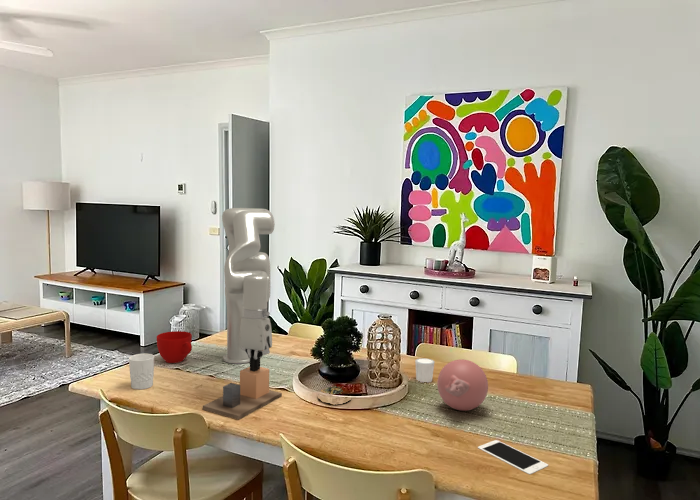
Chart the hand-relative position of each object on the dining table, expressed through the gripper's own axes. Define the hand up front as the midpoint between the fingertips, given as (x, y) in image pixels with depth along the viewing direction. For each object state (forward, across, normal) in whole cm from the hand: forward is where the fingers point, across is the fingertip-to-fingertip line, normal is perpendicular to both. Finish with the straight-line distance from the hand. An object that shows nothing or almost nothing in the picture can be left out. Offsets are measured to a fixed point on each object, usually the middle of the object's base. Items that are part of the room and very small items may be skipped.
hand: (254, 369), depth 166 cm
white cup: (+9, +38, +12) cm, 41 cm away
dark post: (+9, 0, +11) cm, 14 cm away
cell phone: (+10, -80, -3) cm, 81 cm away
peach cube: (+8, 0, 0) cm, 8 cm away
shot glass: (+9, -41, -45) cm, 62 cm away
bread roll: (+10, -22, -12) cm, 27 cm away
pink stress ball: (+9, -60, -24) cm, 65 cm away
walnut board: (+9, 0, +5) cm, 10 cm away
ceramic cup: (+9, +48, -13) cm, 51 cm away
